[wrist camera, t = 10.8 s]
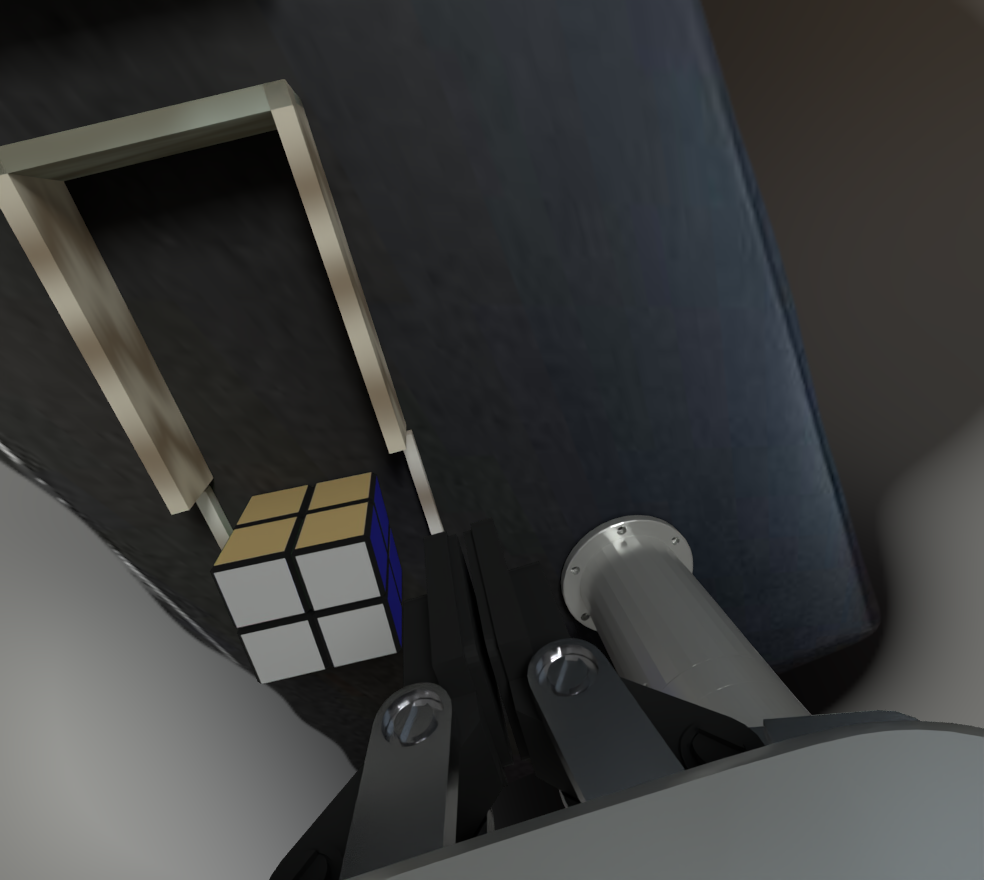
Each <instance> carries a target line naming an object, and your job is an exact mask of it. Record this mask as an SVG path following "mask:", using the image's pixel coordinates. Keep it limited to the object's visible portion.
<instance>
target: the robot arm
mask: <svg viewBox="0 0 984 880" xmlns="http://www.w3.org/2000/svg"><path fill="white" fill-rule="evenodd" d="M470 525H471V529H472V530H469V531H465V532H463V534H464V539H465V544H466V549H467V554H468V559H469V564H470V569H471V574H472V579H473V584H474V588H473V585H472V582H471V579H470V576H469V572H468V569H467V566H466V563H465V559H464V556H463V553H462V550H461V546H460V543H459V540H458V537H457V535H456V534H455V535H451V536H448V534H447V531H443V532H440V533H436V534H433V535H429V536H426V537H424V551H425V566H426V581H427V594H426V595H423V596H419V597H416V598H412V599H409V600H406V601H404V606H403V688H402V689H400V690H399V691H397V692H395V693H394V694H393V695H392V696H391V697H389V698H388V699H387V700H386V701H385V702H384V704H383V705H382V706H381V708H380V709H379V711H378V712H377V715H376V717H375V720H374V723H373V727H372V731H371V736H370V740H369V745H368V750H367V754H366V759H365V763H364V764H363V765H362V766H361V767H360V769H359V770H358V771H357V772H356V773H355V775H354V776H353V777H352V778H351V779H350V781H349V782H348V783H347V784H346V785H345V787H344V788H343V789H342V790H341V791H340V792H339V793H338V795H337V796H336V797H335V798H334V799H333V801H332V802H331V803H330V804H329V805H328V806H327V808H326V809H325V810H324V811H323V812H322V814H321V815H320V816H319V817H318V818H317V819H316V821H315V822H314V823H313V824H312V826H311V827H310V828H309V829H308V830H307V831H306V832H305V834H304V835H303V836H302V837H301V838H300V840H299V841H298V842H297V843H296V844H295V846H294V847H293V848H292V849H291V850H290V851H289V852H288V854H287V855H286V856H285V857H284V858H283V860H282V861H281V862H280V864H279V865H278V867H277V868H276V870H275V871H274V872H273V874H272V875H271V877H270V879H269V880H984V728H979V727H974V726H969V725H962V724H954V723H945V722H928V721H920V720H918V719H916V718H915V717H911V716H909V715H905V714H902V713H900V712H896V711H883V710H874V711H861V712H849V713H836V714H824V715H811V714H810V713H809V712H808V711H807V710H806V708H805V707H804V706H803V705H802V704H801V703H800V702H799V701H798V700H797V699H796V697H795V696H794V695H793V694H792V693H791V691H790V690H789V689H788V688H787V687H786V686H785V684H784V683H783V682H782V681H781V680H780V678H779V677H778V676H777V675H776V674H775V672H774V671H773V670H772V669H771V668H770V666H769V665H768V664H767V663H766V662H765V660H764V659H763V658H762V657H761V656H760V654H759V653H758V652H757V651H756V650H755V648H754V647H753V646H752V645H751V644H750V642H749V641H748V640H747V639H746V638H745V636H744V635H743V634H742V633H741V632H740V631H739V629H738V628H737V627H736V626H735V625H734V623H733V622H732V621H731V620H730V619H729V617H728V616H727V615H726V614H725V613H724V611H723V610H722V609H721V608H720V607H719V605H718V604H717V603H716V602H715V601H714V599H713V598H712V597H711V596H710V595H709V593H708V592H707V591H706V590H705V589H704V588H703V586H702V585H701V584H700V583H699V582H698V580H697V579H696V578H695V577H694V576H693V574H692V572H693V558H692V553H691V549H690V547H689V545H688V543H687V541H686V540H685V539H684V537H683V536H682V535H681V534H680V533H679V531H677V530H676V529H675V528H674V527H673V526H672V525H671V524H669V523H667V522H665V521H664V520H662V519H658V518H655V517H652V516H644V515H632V516H624V517H620V518H616V519H613V520H610V521H608V522H606V523H603V524H601V525H600V526H598V527H596V528H595V529H593V530H592V531H590V532H589V533H588V534H586V535H585V536H584V537H583V538H582V539H581V540H580V541H579V542H578V543H577V544H576V546H575V547H574V548H573V549H572V551H571V552H570V554H569V556H568V558H567V559H566V562H565V565H564V567H563V570H562V576H561V590H562V595H563V598H564V600H565V603H566V605H567V607H568V609H569V611H570V613H571V614H572V615H573V616H574V617H575V619H576V620H577V621H579V622H580V623H581V624H583V625H584V626H586V627H588V628H590V629H593V630H595V631H598V633H599V636H600V638H601V640H602V642H603V644H604V646H605V648H606V650H607V652H608V654H609V656H610V658H611V660H612V662H613V665H614V667H615V669H616V671H617V673H618V674H617V673H616V672H615V670H614V669H613V667H612V666H611V664H610V663H609V662H608V660H607V659H606V657H605V656H604V655H603V653H602V652H601V651H600V650H599V649H598V648H597V647H596V646H595V645H593V644H591V643H589V642H587V641H585V640H580V639H575V638H570V636H569V633H568V631H567V628H566V626H565V623H564V621H563V618H562V616H561V614H560V611H559V609H558V606H557V604H556V601H555V599H554V596H553V594H552V592H551V589H550V587H549V584H548V582H547V579H546V577H545V574H544V572H543V570H542V567H541V565H540V563H539V561H538V562H534V563H531V564H528V565H524V566H521V567H517V568H514V569H511V570H508V567H507V564H506V561H505V558H504V554H503V551H502V548H501V545H500V541H499V538H498V535H497V532H496V529H495V525H494V522H493V519H492V518H488V519H485V520H481V521H478V522H474V523H471V524H470ZM474 589H475V592H474ZM475 594H476V595H475ZM618 675H619V676H618ZM497 684H498V685H497ZM498 687H499V689H498ZM499 690H500V694H501V697H502V700H503V703H504V706H505V709H506V713H507V716H508V719H509V722H510V725H511V728H512V732H513V735H514V738H515V741H516V744H517V747H518V751H519V754H520V757H521V760H522V761H525V760H528V759H531V762H532V765H533V768H534V772H535V775H536V777H537V778H539V779H541V780H543V781H545V782H547V783H548V784H550V785H552V786H554V787H556V788H558V789H559V791H560V795H561V798H562V801H563V804H564V805H565V809H562V810H558V811H555V812H552V813H549V814H546V815H543V816H540V817H537V818H534V819H530V820H527V821H524V822H521V823H518V824H515V825H512V826H509V827H506V828H503V829H499V830H496V831H494V819H493V813H492V809H491V806H492V805H493V803H494V801H495V800H496V798H497V796H498V795H499V793H500V792H501V790H502V788H503V787H505V786H508V785H507V780H506V774H505V769H504V767H506V766H509V765H512V764H513V757H512V752H511V747H510V743H509V738H508V733H507V728H506V723H505V718H504V714H503V709H502V704H501V699H500V694H499Z"/></svg>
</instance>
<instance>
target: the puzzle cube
mask: <svg viewBox="0 0 984 880" xmlns="http://www.w3.org/2000/svg"><path fill="white" fill-rule="evenodd" d="M388 526H389V520H388V517H387V513H386V509H385V505H384V502H383V498H382V494H381V490H380V486H379V483H378V479H377V475H376V474H374V473H372V472H370V473H365V474H360V475H355V476H350V477H345V478H340V479H336V480H331V481H326V482H321V483H317V484H316V485H315V487H314V488H313V487H311V486H309V485H306V486H301V487H296V488H291V489H286V490H281V491H277V492H272V493H267V494H262V495H257V496H252V497H251V499H250V501H249V502H248V504H247V506H246V508H245V510H244V511H243V513H242V515H241V517H240V519H239V520H238V522H237V524H236V526H235V528H234V531H233V532H232V534H231V535H230V537H229V539H228V541H227V542H226V544H225V546H224V548H223V549H222V551H221V553H220V555H219V556H218V558H217V560H216V562H215V563H214V565H213V567H212V569H211V571H210V572H211V575H212V577H213V579H214V582H215V584H216V586H217V589H218V591H219V593H220V596H221V598H222V600H223V603H224V605H225V607H226V609H227V612H228V614H229V616H230V619H231V621H232V623H233V626H235V627H236V628H239V629H238V631H237V634H238V637H239V639H240V641H241V644H242V646H243V648H244V651H245V653H246V655H247V658H248V660H249V662H250V664H251V667H252V669H253V671H254V674H255V676H256V678H257V681H258V682H259V683H261V684H265V683H270V682H274V681H278V680H283V679H287V678H291V677H296V676H300V675H304V674H309V673H313V672H317V671H321V670H326V669H328V667H329V666H330V665H332V666H333V667H339V666H344V665H348V664H352V663H357V662H361V661H365V660H370V659H374V658H378V657H383V656H387V655H391V654H396V653H398V652H399V651H400V650H401V635H402V608H401V603H402V569H401V566H400V562H399V558H398V554H397V550H396V547H395V543H394V539H393V535H392V532H391V528H390V527H388Z"/></svg>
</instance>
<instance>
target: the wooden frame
mask: <svg viewBox="0 0 984 880" xmlns="http://www.w3.org/2000/svg"><path fill="white" fill-rule="evenodd" d="M273 130H278V133H279V135H280V138H281V141H282V144H283V147H284V150H285V153H286V156H287V159H288V161H289V164H290V167H291V170H292V173H293V176H294V179H295V182H296V185H297V187H298V190H299V193H300V196H301V199H302V202H303V205H304V208H305V211H306V214H307V216H308V219H309V222H310V225H311V228H312V231H313V234H314V237H315V240H316V242H317V245H318V248H319V251H320V254H321V257H322V260H323V263H324V266H325V269H326V271H327V274H328V277H329V280H330V283H331V286H332V289H333V292H334V295H335V297H336V300H337V303H338V306H339V309H340V312H341V315H342V318H343V321H344V323H345V326H346V329H347V332H348V335H349V338H350V341H351V344H352V347H353V350H354V352H355V355H356V358H357V361H358V364H359V367H360V370H361V373H362V376H363V378H364V381H365V384H366V387H367V390H368V393H369V396H370V399H371V402H372V405H373V407H374V410H375V413H376V416H377V419H378V422H379V425H380V428H381V431H382V433H383V436H384V439H385V442H386V445H387V448H388V451H389V454H391V453H395V452H398V451H402V450H403V451H404V454H405V457H406V460H407V463H408V466H409V469H410V472H411V475H412V478H413V481H414V484H415V487H416V490H417V493H418V496H419V499H420V502H421V505H422V508H423V511H424V514H425V517H426V520H427V523H428V526H429V529H430V532H431V535H433V534H436V533H440V532H443V531H444V529H443V526H442V523H441V520H440V517H439V514H438V511H437V507H436V504H435V501H434V498H433V495H432V492H431V489H430V486H429V482H428V479H427V476H426V473H425V470H424V467H423V464H422V461H421V458H420V454H419V451H418V448H417V445H416V442H415V439H414V436H413V433H412V430H408V431H406V423H405V420H404V417H403V414H402V411H401V408H400V405H399V402H398V399H397V396H396V392H395V389H394V386H393V383H392V380H391V377H390V374H389V371H388V368H387V365H386V362H385V358H384V355H383V352H382V349H381V346H380V343H379V340H378V337H377V334H376V331H375V328H374V324H373V321H372V318H371V315H370V312H369V309H368V306H367V303H366V300H365V297H364V294H363V291H362V287H361V284H360V281H359V278H358V275H357V272H356V269H355V266H354V263H353V260H352V257H351V253H350V250H349V247H348V244H347V241H346V238H345V235H344V232H343V229H342V226H341V223H340V219H339V216H338V213H337V210H336V207H335V204H334V201H333V198H332V195H331V192H330V189H329V185H328V182H327V179H326V176H325V173H324V170H323V167H322V164H321V161H320V158H319V155H318V151H317V148H316V145H315V142H314V139H313V136H312V133H311V130H310V127H309V124H308V121H307V118H306V114H305V111H304V108H303V105H302V102H301V100H300V98H299V97H298V96H297V95H296V93H295V92H294V91H293V90H292V88H291V87H290V86H289V85H288V83H287V82H286V81H285V80H284V79H283V80H278V81H274V82H270V83H266V84H262V85H257V86H253V87H249V88H245V89H240V90H236V91H232V92H228V93H224V94H219V95H215V96H211V97H207V98H203V99H198V100H194V101H190V102H186V103H181V104H177V105H173V106H169V107H165V108H160V109H156V110H152V111H148V112H144V113H139V114H135V115H131V116H127V117H122V118H118V119H114V120H110V121H106V122H101V123H97V124H93V125H89V126H85V127H80V128H76V129H72V130H68V131H63V132H59V133H55V134H51V135H47V136H42V137H38V138H34V139H30V140H25V141H21V142H17V143H13V144H9V145H4V146H0V208H1V210H2V212H3V213H4V215H5V217H6V219H7V221H8V222H9V224H10V226H11V228H12V230H13V231H14V233H15V235H16V237H17V239H18V240H19V242H20V244H21V246H22V247H23V249H24V251H25V253H26V255H27V256H28V258H29V260H30V262H31V264H32V265H33V267H34V269H35V271H36V273H37V274H38V276H39V278H40V280H41V281H42V283H43V285H44V287H45V289H46V290H47V292H48V294H49V296H50V298H51V299H52V301H53V303H54V305H55V307H56V308H57V310H58V312H59V314H60V315H61V317H62V319H63V321H64V323H65V324H66V326H67V328H68V330H69V332H70V333H71V335H72V337H73V339H74V341H75V342H76V344H77V346H78V348H79V349H80V351H81V353H82V355H83V357H84V358H85V360H86V362H87V364H88V366H89V367H90V369H91V371H92V373H93V375H94V376H95V378H96V380H97V382H98V383H99V385H100V387H101V389H102V391H103V392H104V394H105V396H106V398H107V400H108V401H109V403H110V405H111V407H112V409H113V410H114V412H115V414H116V416H117V418H118V419H119V421H120V423H121V425H122V426H123V428H124V430H125V432H126V434H127V435H128V437H129V439H130V441H131V443H132V444H133V446H134V448H135V450H136V452H137V453H138V455H139V457H140V459H141V460H142V462H143V464H144V466H145V468H146V469H147V471H148V473H149V475H150V477H151V478H152V480H153V482H154V484H155V486H156V487H157V489H158V491H159V493H160V494H161V496H162V498H163V500H164V502H165V503H166V505H167V507H168V509H169V511H170V512H171V514H172V515H173V514H176V513H180V512H184V511H187V510H190V508H191V507H192V506H193V504H194V503H195V502H196V503H197V505H198V507H199V509H200V510H201V512H202V514H203V516H204V518H205V520H206V522H207V524H208V526H209V527H210V529H211V531H212V533H213V535H214V537H215V539H216V541H217V542H218V544H219V546H220V548H221V550H222V549H223V548H224V546H225V544H226V542H227V541H228V539H229V537H230V535H231V534H232V532H233V530H232V528H231V526H230V524H229V522H228V520H227V518H226V516H225V514H224V512H223V510H222V508H221V506H220V504H219V502H218V500H217V498H216V496H215V494H214V492H213V490H212V489H211V487H210V486H208V485H209V483H210V482H211V481H212V479H213V476H212V474H211V472H210V470H209V468H208V466H207V464H206V462H205V460H204V458H203V456H202V454H201V452H200V450H199V448H198V446H197V444H196V442H195V440H194V438H193V436H192V434H191V432H190V430H189V428H188V427H187V425H186V423H185V421H184V419H183V417H182V415H181V413H180V411H179V409H178V407H177V405H176V403H175V401H174V399H173V397H172V395H171V393H170V391H169V389H168V387H167V385H166V383H165V381H164V379H163V377H162V375H161V373H160V371H159V369H158V367H157V365H156V363H155V361H154V359H153V357H152V355H151V353H150V351H149V349H148V347H147V345H146V343H145V341H144V339H143V337H142V335H141V333H140V331H139V329H138V327H137V326H136V324H135V322H134V320H133V318H132V316H131V314H130V312H129V310H128V308H127V306H126V304H125V302H124V300H123V298H122V296H121V294H120V292H119V290H118V288H117V286H116V284H115V282H114V280H113V278H112V276H111V274H110V272H109V270H108V268H107V266H106V264H105V262H104V260H103V258H102V256H101V254H100V252H99V250H98V248H97V246H96V244H95V242H94V240H93V238H92V236H91V234H90V232H89V230H88V228H87V226H86V224H85V223H84V221H83V219H82V217H81V215H80V213H79V211H78V209H77V207H76V205H75V203H74V201H73V199H72V197H71V195H70V193H69V191H68V189H67V187H66V185H65V183H64V181H67V180H71V179H75V178H79V177H83V176H87V175H91V174H95V173H100V172H104V171H108V170H112V169H116V168H120V167H124V166H128V165H133V164H137V163H141V162H145V161H149V160H153V159H157V158H162V157H166V156H170V155H174V154H178V153H182V152H186V151H190V150H195V149H199V148H203V147H207V146H211V145H215V144H219V143H223V142H228V141H232V140H236V139H240V138H244V137H248V136H252V135H256V134H261V133H265V132H269V131H273Z"/></svg>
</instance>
